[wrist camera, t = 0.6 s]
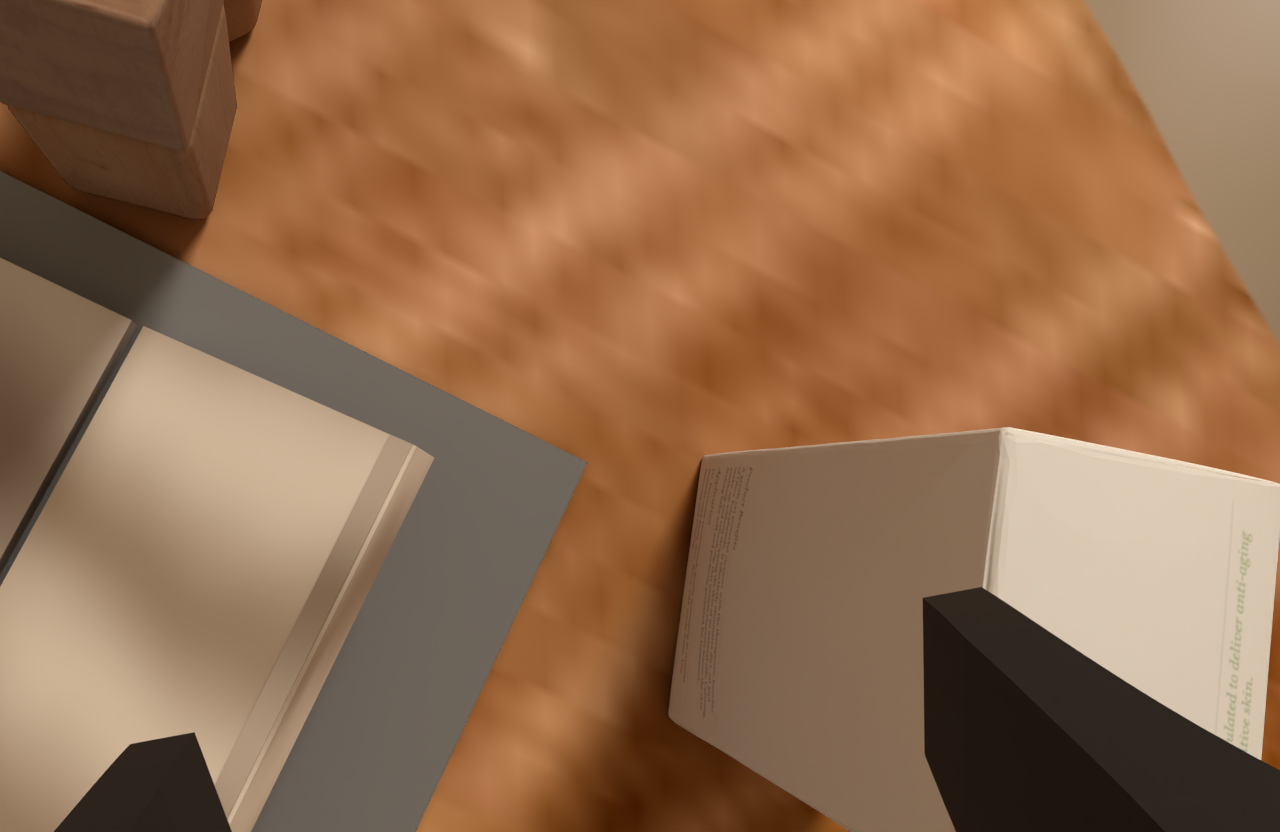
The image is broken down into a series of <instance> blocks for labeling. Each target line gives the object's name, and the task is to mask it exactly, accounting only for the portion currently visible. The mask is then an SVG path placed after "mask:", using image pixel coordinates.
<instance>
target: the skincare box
mask: <svg viewBox="0 0 1280 832" xmlns="http://www.w3.org/2000/svg"><path fill="white" fill-rule="evenodd" d="M1279 536H1280V484H1279V483H1275V482H1272V481H1268V480H1264V479H1259V478H1255V477H1251V476H1247V475H1243V474H1239V473H1234V472H1230V471H1225V470H1221V469H1216V468H1212V467H1207V466H1202V465H1198V464H1193V463H1188V462H1184V461H1179V460H1174V459H1169V458H1164V457H1159V456H1154V455H1149V454H1144V453H1139V452H1134V451H1129V450H1124V449H1119V448H1114V447H1109V446H1104V445H1099V444H1094V443H1089V442H1084V441H1079V440H1073V439H1068V438H1063V437H1058V436H1053V435H1048V434H1043V433H1037V432H1032V431H1027V430H1021V429H1016V428H1011V427H1005V428H995V429H985V430H975V431H965V432H956V433H944V434H932V435H920V436H910V437H900V438H890V439H878V440H865V441H852V442H841V443H831V444H821V445H811V446H797V447H787V448H775V449H761V450H750V451H739V452H730V453H720V454H712V455H705V456H704V457H703V459H702V463H701V470H700V477H699V484H698V491H697V498H696V506H695V513H694V520H693V527H692V534H691V542H690V549H689V556H688V564H687V571H686V579H685V586H684V594H683V601H682V608H681V616H680V623H679V631H678V638H677V646H676V653H675V661H674V669H673V676H672V684H671V693H670V702H669V712H668V715H669V717H670V718H671V719H672V720H673V721H674V722H675V723H676V724H678V725H679V726H681V727H682V728H684V729H686V730H687V731H689V732H691V733H692V734H694V735H696V736H697V737H699V738H701V739H702V740H704V741H706V742H707V743H709V744H711V745H712V746H714V747H716V748H718V749H719V750H721V751H723V752H724V753H726V754H727V755H729V756H731V757H732V758H734V759H735V760H737V761H738V762H740V763H742V764H743V765H745V766H746V767H748V768H749V769H751V770H753V771H754V772H756V773H758V774H759V775H761V776H762V777H764V778H766V779H767V780H769V781H770V782H772V783H774V784H775V785H777V786H779V787H780V788H782V789H783V790H785V791H787V792H788V793H790V794H792V795H793V796H795V797H796V798H798V799H800V800H801V801H803V802H804V803H806V804H808V805H809V806H811V807H812V808H814V809H816V810H817V811H819V812H820V813H822V814H824V815H825V816H827V817H828V818H830V819H832V820H833V821H835V822H836V823H838V824H839V825H841V826H843V827H844V828H846V829H847V830H849V831H851V832H956V831H955V828H954V826H953V824H952V821H951V819H950V816H949V814H948V812H947V809H946V807H945V805H944V802H943V800H942V797H941V795H940V792H939V790H938V787H937V785H936V782H935V780H934V777H933V775H932V772H931V770H930V767H929V764H928V762H927V759H926V757H925V752H924V668H923V598H924V597H930V596H935V595H940V594H946V593H951V592H957V591H962V590H968V589H973V588H978V587H982V588H984V589H985V590H987V591H989V592H990V593H992V594H993V595H995V596H997V597H998V598H1000V599H1001V600H1003V601H1004V602H1006V603H1007V604H1009V605H1010V606H1012V607H1013V608H1015V609H1016V610H1018V611H1019V612H1021V613H1022V614H1024V615H1025V616H1027V617H1028V618H1030V619H1031V620H1033V621H1034V622H1036V623H1037V624H1039V625H1040V626H1042V627H1043V628H1045V629H1046V630H1048V631H1049V632H1051V633H1052V634H1054V635H1055V636H1057V637H1058V638H1060V639H1061V640H1063V641H1064V642H1066V643H1067V644H1069V645H1070V646H1072V647H1073V648H1075V649H1076V650H1078V651H1079V652H1081V653H1082V654H1084V655H1085V656H1087V657H1088V658H1090V659H1091V660H1093V661H1095V662H1096V663H1098V664H1099V665H1101V666H1102V667H1104V668H1105V669H1107V670H1108V671H1110V672H1112V673H1113V674H1115V675H1116V676H1118V677H1119V678H1121V679H1123V680H1124V681H1126V682H1127V683H1129V684H1131V685H1132V686H1134V687H1135V688H1137V689H1138V690H1140V691H1142V692H1143V693H1145V694H1147V695H1148V696H1150V697H1151V698H1153V699H1155V700H1156V701H1158V702H1160V703H1161V704H1163V705H1165V706H1166V707H1168V708H1170V709H1171V710H1173V711H1175V712H1176V713H1178V714H1180V715H1181V716H1183V717H1185V718H1186V719H1188V720H1190V721H1191V722H1193V723H1195V724H1197V725H1198V726H1200V727H1202V728H1204V729H1205V730H1207V731H1209V732H1211V733H1212V734H1214V735H1216V736H1218V737H1220V738H1221V739H1223V740H1225V741H1227V742H1229V743H1230V744H1232V745H1234V746H1236V747H1238V748H1239V749H1241V750H1243V751H1245V752H1247V753H1248V754H1250V755H1252V756H1254V757H1256V758H1257V759H1259V760H1261V756H1262V743H1263V731H1264V718H1265V705H1266V693H1267V680H1268V668H1269V655H1270V643H1271V631H1272V618H1273V606H1274V594H1275V582H1276V571H1277V559H1278V548H1279Z"/></svg>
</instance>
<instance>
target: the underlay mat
mask: <svg viewBox="0 0 1280 832" xmlns="http://www.w3.org/2000/svg"><path fill="white" fill-rule="evenodd" d="M0 258H2V259H4V260H6V261H8V262H10V263H13V264H15V265H17V266H19V267H21V268H23V269H25V270H27V271H29V272H31V273H34V274H36V275H38V276H40V277H42V278H44V279H46V280H48V281H50V282H52V283H55V284H57V285H59V286H61V287H63V288H65V289H67V290H69V291H71V292H73V293H75V294H78V295H80V296H82V297H84V298H86V299H88V300H90V301H92V302H94V303H96V304H99V305H101V306H103V307H105V308H107V309H109V310H111V311H113V312H115V313H117V314H120V315H122V316H124V317H126V318H128V319H130V320H132V321H133V322H134V323H135V324H136V325H137V328H136V329H135V331H134V333H133V335H132V337H131V339H130V340H129V342H128V344H127V346H126V348H125V349H124V351H123V353H122V355H121V357H120V359H119V360H118V362H117V364H116V366H115V368H114V369H113V371H112V373H111V375H110V377H109V379H108V380H107V382H106V384H105V386H104V388H103V389H102V391H101V393H100V395H99V397H98V399H97V400H96V402H95V404H94V406H93V408H92V409H91V411H90V413H89V415H88V417H87V419H86V420H85V422H84V424H83V426H82V428H81V429H80V431H79V433H78V435H77V437H76V439H75V440H74V442H73V444H72V446H71V448H70V449H69V451H68V453H67V455H66V457H65V459H64V460H63V462H62V464H61V466H60V468H59V469H58V471H57V473H56V475H55V477H54V479H53V480H52V482H51V484H50V486H49V488H48V489H47V491H46V493H45V495H44V497H43V499H42V500H41V502H40V504H39V506H38V508H37V509H36V511H35V513H34V515H33V517H32V519H31V520H30V522H29V524H28V526H27V528H26V529H25V531H24V533H23V535H22V537H21V539H20V540H19V542H18V544H17V546H16V548H15V549H14V551H13V553H12V555H11V557H10V559H9V560H8V562H7V564H6V566H5V568H4V569H3V571H2V573H1V575H0V586H1V585H2V583H3V581H4V579H5V577H6V575H7V574H8V572H9V570H10V568H11V566H12V565H13V563H14V561H15V559H16V557H17V555H18V554H19V552H20V550H21V548H22V546H23V544H24V543H25V541H26V539H27V537H28V535H29V534H30V532H31V530H32V528H33V526H34V524H35V523H36V521H37V519H38V517H39V515H40V514H41V512H42V510H43V508H44V506H45V504H46V503H47V501H48V499H49V497H50V495H51V494H52V492H53V490H54V488H55V486H56V484H57V483H58V481H59V479H60V477H61V475H62V473H63V472H64V470H65V468H66V466H67V464H68V463H69V461H70V459H71V457H72V455H73V453H74V452H75V450H76V448H77V446H78V444H79V443H80V441H81V439H82V437H83V435H84V433H85V432H86V430H87V428H88V426H89V424H90V422H91V421H92V419H93V417H94V415H95V413H96V412H97V410H98V408H99V406H100V404H101V402H102V401H103V399H104V397H105V395H106V393H107V392H108V390H109V388H110V386H111V384H112V382H113V381H114V379H115V377H116V375H117V373H118V372H119V370H120V368H121V366H122V364H123V362H124V361H125V359H126V357H127V355H128V353H129V351H130V350H131V348H132V346H133V344H134V342H135V341H136V339H137V337H138V335H139V333H140V331H141V330H142V328H143V326H145V327H147V328H149V329H152V330H154V331H156V332H158V333H161V334H163V335H165V336H168V337H170V338H172V339H174V340H177V341H179V342H181V343H183V344H186V345H188V346H190V347H192V348H195V349H197V350H199V351H202V352H204V353H206V354H208V355H211V356H213V357H215V358H217V359H220V360H222V361H224V362H227V363H229V364H231V365H233V366H236V367H238V368H240V369H242V370H245V371H247V372H249V373H251V374H254V375H256V376H258V377H261V378H263V379H265V380H267V381H270V382H272V383H274V384H276V385H279V386H281V387H283V388H285V389H288V390H290V391H292V392H295V393H297V394H299V395H301V396H304V397H306V398H308V399H310V400H313V401H315V402H317V403H320V404H322V405H324V406H326V407H329V408H331V409H333V410H335V411H338V412H340V413H342V414H344V415H347V416H349V417H351V418H354V419H356V420H358V421H360V422H363V423H365V424H367V425H369V426H372V427H374V428H376V429H379V430H381V431H383V432H385V433H388V434H390V435H393V436H395V437H397V438H399V439H402V440H404V441H406V442H408V443H411V444H413V445H415V446H417V447H419V448H420V449H422V450H423V451H425V452H426V453H428V454H430V455H431V456H433V457H434V460H433V462H432V464H431V466H430V468H429V470H428V472H427V474H426V476H425V478H424V480H423V482H422V484H421V486H420V488H419V490H418V493H417V495H416V497H415V499H414V501H413V503H412V505H411V507H410V509H409V511H408V513H407V515H406V517H405V519H404V521H403V523H402V525H401V527H400V529H399V531H398V533H397V535H396V537H395V539H394V541H393V543H392V546H391V548H390V550H389V552H388V554H387V556H386V558H385V560H384V562H383V564H382V566H381V568H380V570H379V572H378V574H377V576H376V578H375V580H374V582H373V584H372V586H371V588H370V590H369V592H368V594H367V596H366V599H365V601H364V603H363V605H362V607H361V609H360V611H359V613H358V615H357V617H356V619H355V621H354V623H353V625H352V627H351V629H350V631H349V633H348V635H347V637H346V639H345V641H344V643H343V645H342V647H341V649H340V652H339V654H338V656H337V658H336V660H335V662H334V664H333V666H332V668H331V670H330V672H329V674H328V676H327V678H326V680H325V682H324V684H323V686H322V688H321V690H320V692H319V694H318V696H317V698H316V700H315V702H314V705H313V707H312V709H311V711H310V713H309V715H308V717H307V719H306V721H305V723H304V725H303V727H302V729H301V731H300V733H299V735H298V737H297V739H296V741H295V743H294V745H293V747H292V749H291V751H290V753H289V755H288V758H287V760H286V762H285V764H284V766H283V768H282V770H281V772H280V774H279V776H278V778H277V780H276V782H275V784H274V786H273V788H272V790H271V792H270V794H269V796H268V798H267V800H266V802H265V804H264V806H263V808H262V811H261V813H260V815H259V817H258V819H257V821H256V823H255V825H254V827H253V829H252V831H251V832H416V829H417V827H418V825H419V823H420V821H421V819H422V817H423V814H424V812H425V810H426V808H427V806H428V804H429V802H430V799H431V797H432V795H433V793H434V791H435V789H436V787H437V784H438V782H439V780H440V778H441V776H442V774H443V771H444V769H445V767H446V765H447V763H448V761H449V759H450V756H451V754H452V752H453V750H454V748H455V746H456V744H457V741H458V739H459V737H460V735H461V733H462V731H463V729H464V726H465V724H466V722H467V720H468V718H469V716H470V713H471V711H472V709H473V707H474V705H475V703H476V701H477V698H478V696H479V694H480V692H481V690H482V688H483V686H484V683H485V681H486V679H487V677H488V675H489V673H490V671H491V668H492V666H493V664H494V662H495V660H496V658H497V655H498V653H499V651H500V649H501V647H502V645H503V643H504V640H505V638H506V636H507V634H508V632H509V630H510V628H511V625H512V623H513V621H514V619H515V617H516V615H517V613H518V610H519V608H520V606H521V604H522V602H523V600H524V597H525V595H526V593H527V591H528V589H529V587H530V585H531V582H532V580H533V578H534V576H535V574H536V572H537V570H538V567H539V565H540V563H541V561H542V559H543V557H544V555H545V552H546V550H547V548H548V546H549V544H550V542H551V540H552V537H553V535H554V533H555V531H556V529H557V527H558V524H559V522H560V520H561V518H562V516H563V514H564V512H565V509H566V507H567V505H568V503H569V501H570V499H571V497H572V494H573V492H574V490H575V488H576V486H577V484H578V482H579V479H580V477H581V475H582V473H583V471H584V469H585V466H586V464H587V462H586V461H584V460H582V459H579V458H577V457H575V456H573V455H571V454H569V453H567V452H565V451H563V450H561V449H559V448H557V447H555V446H553V445H551V444H549V443H547V442H545V441H543V440H541V439H539V438H537V437H535V436H533V435H531V434H529V433H527V432H525V431H523V430H521V429H519V428H517V427H515V426H513V425H511V424H509V423H507V422H505V421H503V420H501V419H499V418H497V417H495V416H493V415H491V414H489V413H487V412H485V411H483V410H481V409H479V408H477V407H475V406H473V405H471V404H469V403H467V402H465V401H463V400H461V399H459V398H457V397H455V396H453V395H451V394H449V393H446V392H444V391H442V390H440V389H438V388H436V387H434V386H432V385H430V384H428V383H426V382H424V381H422V380H420V379H418V378H416V377H414V376H412V375H410V374H408V373H406V372H404V371H402V370H400V369H398V368H396V367H394V366H392V365H390V364H388V363H386V362H384V361H382V360H380V359H378V358H376V357H374V356H372V355H370V354H368V353H366V352H364V351H362V350H360V349H358V348H356V347H354V346H352V345H350V344H348V343H346V342H344V341H342V340H340V339H338V338H336V337H334V336H332V335H330V334H328V333H326V332H324V331H322V330H320V329H318V328H316V327H313V326H311V325H309V324H307V323H305V322H303V321H301V320H299V319H297V318H295V317H293V316H291V315H289V314H287V313H285V312H283V311H281V310H279V309H277V308H275V307H273V306H271V305H269V304H267V303H265V302H263V301H261V300H259V299H257V298H255V297H253V296H251V295H249V294H247V293H245V292H243V291H241V290H239V289H237V288H235V287H233V286H231V285H229V284H227V283H225V282H223V281H221V280H219V279H217V278H215V277H213V276H211V275H209V274H207V273H205V272H203V271H201V270H199V269H197V268H195V267H193V266H191V265H189V264H187V263H185V262H182V261H180V260H178V259H176V258H174V257H172V256H170V255H168V254H166V253H164V252H162V251H160V250H158V249H156V248H154V247H152V246H150V245H148V244H146V243H144V242H142V241H140V240H138V239H136V238H134V237H132V236H130V235H128V234H126V233H124V232H122V231H120V230H118V229H116V228H114V227H112V226H110V225H108V224H106V223H104V222H102V221H100V220H98V219H96V218H94V217H92V216H90V215H88V214H86V213H84V212H82V211H80V210H78V209H76V208H74V207H72V206H70V205H68V204H66V203H64V202H62V201H60V200H58V199H56V198H54V197H52V196H49V195H47V194H45V193H43V192H41V191H39V190H37V189H35V188H33V187H31V186H29V185H27V184H25V183H23V182H21V181H19V180H17V179H15V178H13V177H11V176H9V175H7V174H5V173H3V172H1V171H0Z"/></svg>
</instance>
